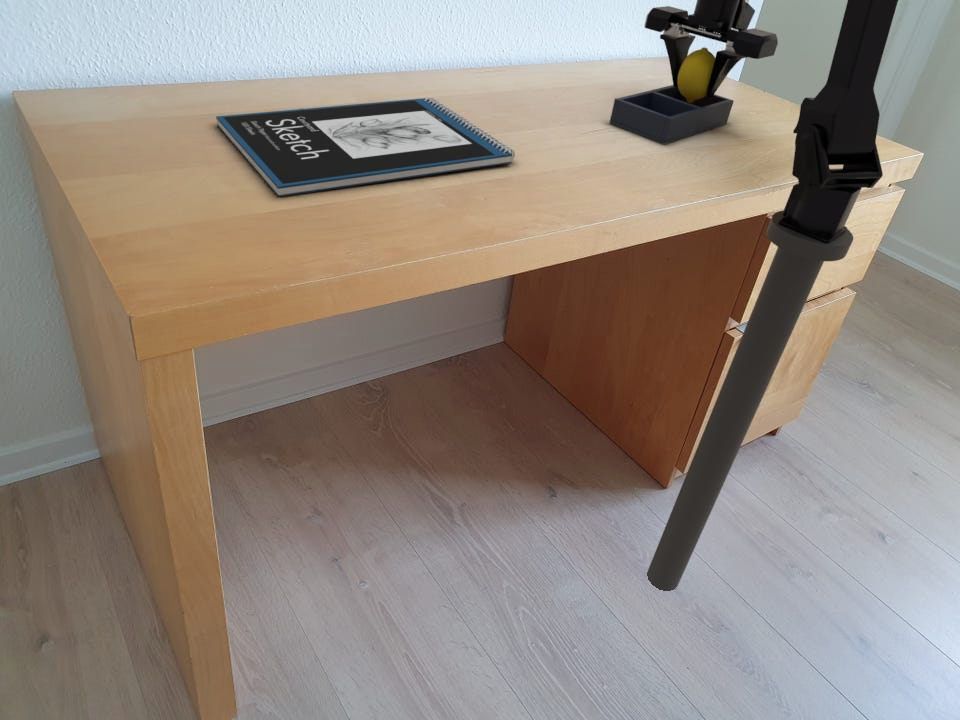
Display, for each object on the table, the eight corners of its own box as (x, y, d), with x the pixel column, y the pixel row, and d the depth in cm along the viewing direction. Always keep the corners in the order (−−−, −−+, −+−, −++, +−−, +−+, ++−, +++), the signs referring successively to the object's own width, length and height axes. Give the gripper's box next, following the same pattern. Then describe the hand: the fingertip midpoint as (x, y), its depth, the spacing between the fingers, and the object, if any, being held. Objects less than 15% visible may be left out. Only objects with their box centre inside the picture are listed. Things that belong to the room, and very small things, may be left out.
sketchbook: (216, 127, 87) (215, 110, 86) (432, 109, 102) (433, 94, 100) (278, 198, 73) (277, 178, 72) (517, 165, 88) (520, 148, 86)
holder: (726, 123, 112) (734, 100, 109) (664, 144, 100) (671, 119, 98) (674, 105, 116) (680, 82, 114) (609, 123, 105) (614, 98, 103)
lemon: (702, 99, 112) (717, 45, 107) (712, 110, 108) (728, 54, 103) (667, 95, 111) (681, 41, 107) (676, 106, 107) (691, 50, 102)
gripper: (811, -11, 100) (772, 102, 109) (695, -37, 109) (668, 70, 118) (777, -8, 93) (738, 113, 102) (656, -35, 102) (630, 77, 111)
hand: (692, 92), depth 109 cm, fingers closed on lemon, 5 cm apart
